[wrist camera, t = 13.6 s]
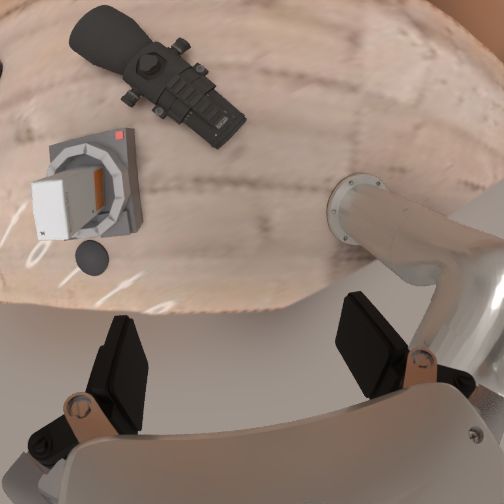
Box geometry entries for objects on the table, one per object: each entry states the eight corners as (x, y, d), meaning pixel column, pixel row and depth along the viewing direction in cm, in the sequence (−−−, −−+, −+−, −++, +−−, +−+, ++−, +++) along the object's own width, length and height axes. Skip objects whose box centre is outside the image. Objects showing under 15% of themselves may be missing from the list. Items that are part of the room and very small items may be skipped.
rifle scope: (203, 161, 36) (202, 170, 28) (79, 64, 26) (48, 50, 17) (253, 108, 34) (270, 100, 25) (127, 13, 24) (109, -15, 15)
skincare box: (106, 207, 32) (69, 242, 21) (80, 208, 31) (36, 242, 21) (104, 162, 30) (62, 178, 19) (77, 165, 29) (28, 182, 18)
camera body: (134, 128, 33) (118, 128, 26) (143, 222, 38) (131, 240, 32) (63, 143, 31) (38, 147, 24) (75, 230, 37) (55, 248, 30)
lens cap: (105, 237, 39) (102, 240, 37) (112, 271, 41) (110, 274, 40) (74, 241, 38) (71, 244, 37) (83, 273, 40) (80, 276, 39)
